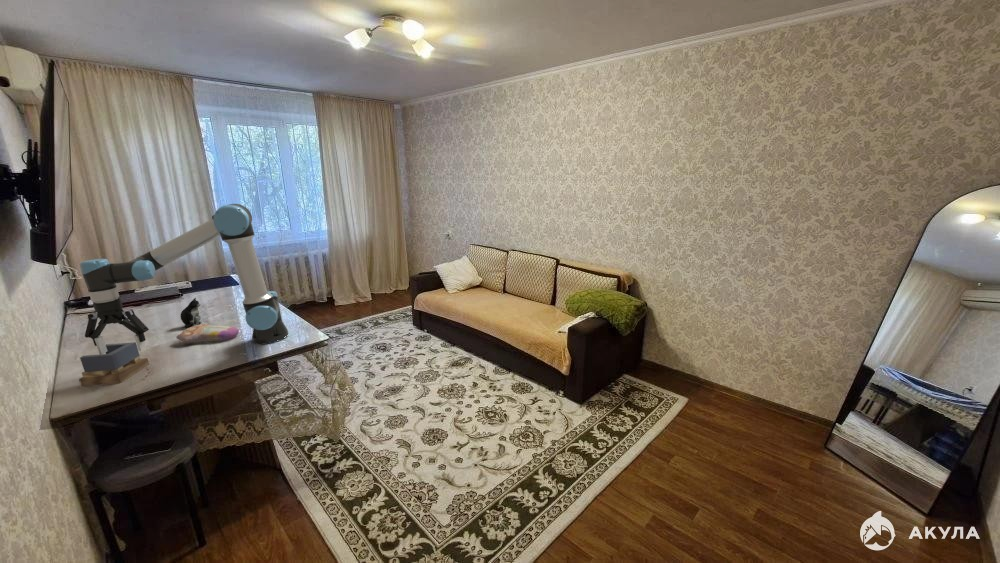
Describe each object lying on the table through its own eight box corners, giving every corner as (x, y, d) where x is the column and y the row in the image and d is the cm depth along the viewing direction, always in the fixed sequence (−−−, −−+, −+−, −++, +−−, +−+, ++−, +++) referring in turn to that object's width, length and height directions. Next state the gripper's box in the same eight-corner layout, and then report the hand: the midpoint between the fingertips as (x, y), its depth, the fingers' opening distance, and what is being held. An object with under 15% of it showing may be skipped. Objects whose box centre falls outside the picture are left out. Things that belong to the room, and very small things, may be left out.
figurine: (202, 328, 198) (195, 301, 194) (178, 331, 194) (171, 303, 190) (207, 322, 206) (201, 296, 202) (185, 325, 203) (179, 298, 199)
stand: (149, 364, 159) (146, 353, 158) (120, 382, 145) (117, 371, 143) (114, 367, 157) (110, 356, 156) (81, 386, 143) (77, 374, 141)
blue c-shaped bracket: (139, 355, 156) (135, 342, 154) (115, 369, 145) (111, 355, 143) (111, 357, 154) (106, 344, 153) (84, 372, 143) (79, 357, 141)
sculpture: (245, 331, 198) (186, 336, 189) (243, 319, 197) (184, 323, 188) (235, 341, 182) (171, 347, 173) (234, 328, 181) (169, 333, 172)
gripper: (150, 294, 149) (165, 343, 154) (77, 299, 145) (95, 350, 151) (135, 300, 142) (151, 352, 147) (58, 305, 138) (78, 358, 144)
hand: (123, 351), depth 149 cm, fingers open, 13 cm apart
